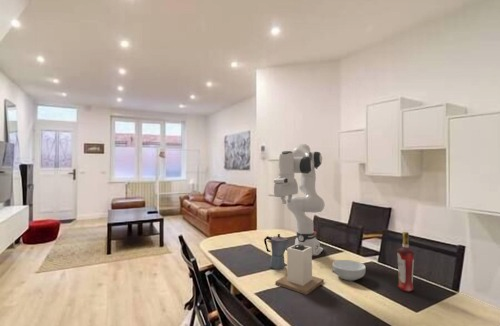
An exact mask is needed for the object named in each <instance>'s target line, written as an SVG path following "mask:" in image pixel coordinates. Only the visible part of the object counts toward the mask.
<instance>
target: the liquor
mask: <svg viewBox="0 0 500 326" xmlns="http://www.w3.org/2000/svg"><path fill="white" fill-rule="evenodd" d="M401 233H402V246H401V247H400V248H398V249H396V254H397V256H396V257H397V267H398V270H397V272H398V285H397V287H398V288H399V289H400V290H401V291H403V292H406V293H409V292H412V291H413V290H414V289H415V288H414V282H413V281H414V266H415V265H414V264H415V263H414V262H415V252H414V250H413V249H410V243H409V236H410V235H409V232H407V231H402V232H401Z"/></svg>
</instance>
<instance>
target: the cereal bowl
mask: <svg viewBox="0 0 500 326" xmlns="http://www.w3.org/2000/svg"><path fill="white" fill-rule="evenodd" d="M332 270H333V273H334V274H335V275H336V276H338V277H339V278H341V279H343V280H345V281H350V282H351V281H353V282H354V281H356V280H359V279H361V278H364V276H365V275H366V270H367V269H366V265H365V264H364V263H361V262H359V261H355V260H351V259H350V260H349V259H341V260H340V259H339V260H335V261H333V262H332Z"/></svg>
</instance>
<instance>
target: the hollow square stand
mask: <svg viewBox="0 0 500 326" xmlns="http://www.w3.org/2000/svg"><path fill="white" fill-rule="evenodd" d="M295 245H299V244H295V243H294V245H291V246H289V247H287V248H286V249H287V250H286V256H287V257H286V260H287V261H286V265H287V267H286V272H287V273H286V275H284V276H282V277H281V278H279V279H278V280H275V283H274V284H275V285H276V286H280V287H282V288H285V289H289V290H292V291H293V292H294V291H295V292H298V293H300V294H303V295H309V294H310V293H311V292H313V291H314V290H315V289H316V288H318V287H319V286H320V285H322V284H323V283H324V280H325V279H323V278H320V277H316V276H313V255H312V247H308V246H304V250H303V251H301V250H297V249H295Z"/></svg>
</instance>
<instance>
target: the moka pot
mask: <svg viewBox="0 0 500 326" xmlns="http://www.w3.org/2000/svg"><path fill="white" fill-rule="evenodd" d="M267 240H268V241H270V247H271V250H270V249H269V247H268V243H267ZM263 242H264V245H265V246H264V247H265V249H266V252H268V253H271V257H270V263H269V267H270V269H273V270H277V271H279V270H284V269H285V268H286V267H285V266H286V265H285V252H286V249H287V248H286V247H287V246H288V244H289V242H290V240H289V239H288V238H286V237H284V236H281V233H278V234H277V236H268V235H267V236H265V238H264V239H263Z"/></svg>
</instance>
